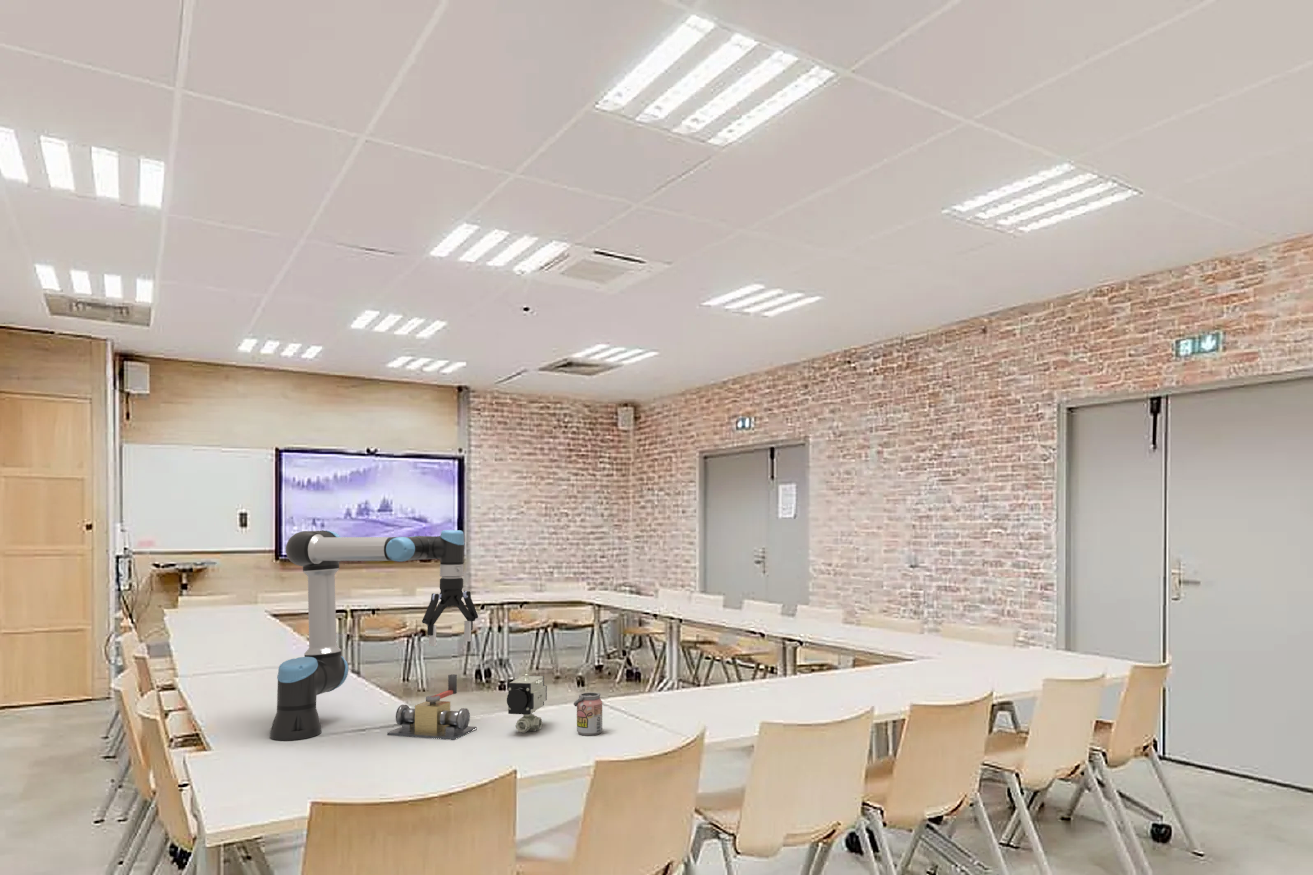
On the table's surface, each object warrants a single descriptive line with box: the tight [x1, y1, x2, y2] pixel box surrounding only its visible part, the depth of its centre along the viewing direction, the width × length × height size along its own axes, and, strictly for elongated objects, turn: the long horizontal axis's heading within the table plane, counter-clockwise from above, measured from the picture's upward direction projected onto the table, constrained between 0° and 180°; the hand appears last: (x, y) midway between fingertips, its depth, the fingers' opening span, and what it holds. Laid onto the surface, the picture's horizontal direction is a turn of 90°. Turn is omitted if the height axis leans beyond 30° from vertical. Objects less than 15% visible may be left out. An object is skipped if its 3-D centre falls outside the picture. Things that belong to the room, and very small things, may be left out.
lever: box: [425, 673, 458, 702], centre depth 280 cm, size 16×4×6 cm, turn 163°
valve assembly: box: [386, 700, 478, 741], centre depth 274 cm, size 24×14×10 cm, turn 73°
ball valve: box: [506, 673, 548, 734], centre depth 275 cm, size 18×8×18 cm, turn 168°
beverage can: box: [573, 691, 603, 737], centre depth 271 cm, size 9×8×12 cm
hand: (450, 643), depth 277 cm, fingers open, 13 cm apart
